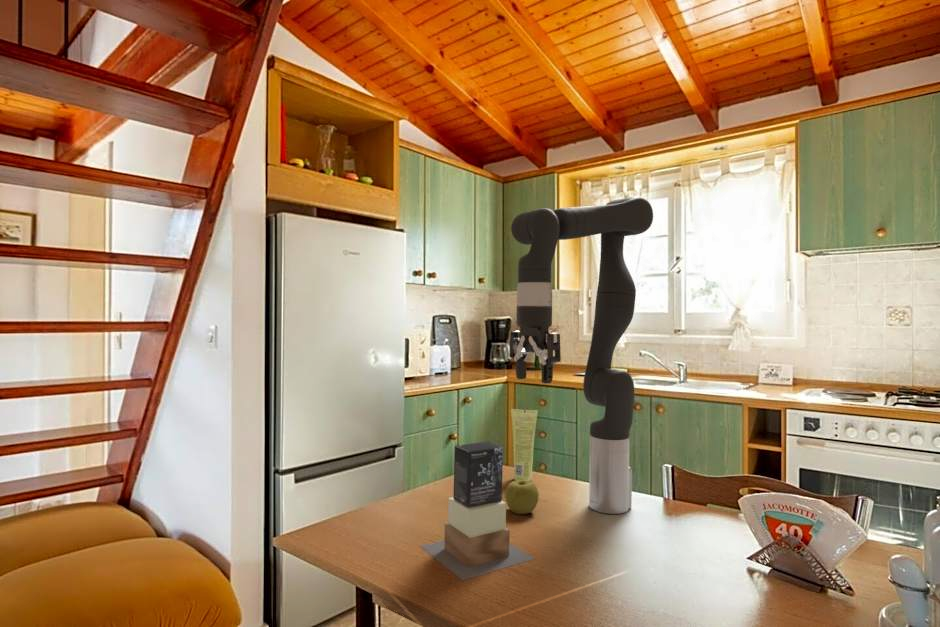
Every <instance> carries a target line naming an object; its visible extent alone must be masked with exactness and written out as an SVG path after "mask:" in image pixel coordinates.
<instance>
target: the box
mask: <svg viewBox="0 0 940 627" xmlns="http://www.w3.org/2000/svg"><path fill="white" fill-rule="evenodd" d="M503 456H504V448H503V446H501V445H498V444H496V443H493V442H490V441H489V440H488V441H487V440H486V441H480V442H474V443H473V442H472V443H467V444H456V445H454V456H453V457H454V458H453V459H454V460H453V462H454V463H453V464H454V465H453V496H452V497H453V498H454V500H456V501H457V502H459V503H460V504H462V505H464V506H465V507H467V508H470V507H472V506H477V505H482V504H487V503H492V502H497V501H498V502H499V501H503V462H504V458H503Z"/></svg>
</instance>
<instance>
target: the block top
mask: <svg viewBox="0 0 940 627" xmlns="http://www.w3.org/2000/svg"><path fill="white" fill-rule="evenodd" d="M453 497H454V496H452V497H448V499H447V500H448V502H447V503H448V507H447V508H448V511H447V512H448V513H447V517H448V519H447V523H448V524H450V525H451V526H453V527H454V528H456V529H457V530H459V531H460V532H462V533H463V534H465V535H466V536H468V537H469V538H473V537H477V536H481V535H485V534H489V533H493V532H497V531H501V530H505V529H506V528H507V502H505V501H503V500H502V501H499V502H498V501H497V502H492V503H487V504H482V505H477V506H472V507H470V508H467V507H465V506H464V505H462V504H460V503H459V502H457V501H456V500H454V498H453Z"/></svg>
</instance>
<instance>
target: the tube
mask: <svg viewBox="0 0 940 627" xmlns="http://www.w3.org/2000/svg"><path fill="white" fill-rule="evenodd" d="M538 414H539V411H538V409H537V410H536V409H518V408H517V409H515V408H511V409H510V416H511V424H512V440H513V443H512V444H513V479H514V481H516V480H527V481H530V482H531V481H532V475H533V462H534V461H533V459H534V448H535V445H534V444H535V437H536V436H535V435H536V434H535V433H536V427H537V419H538Z"/></svg>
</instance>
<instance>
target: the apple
mask: <svg viewBox="0 0 940 627" xmlns="http://www.w3.org/2000/svg"><path fill="white" fill-rule="evenodd" d="M504 494H505V496H504V497H505V501H506V502H505V503H506V506H508V508H509V509H510V511H511V512H513V513H514V514H515V515H516V514H517V515H526V514H529V513H532V512H533V511H534V510H535V509H536V507H537V505H538V502H539V490H538V487H537V485H535V483H533V482H532V481H531V480H530V481H527V480H513V481H512V482H510V483H509V484H508V485H507V486H506V489H505V493H504Z"/></svg>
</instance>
